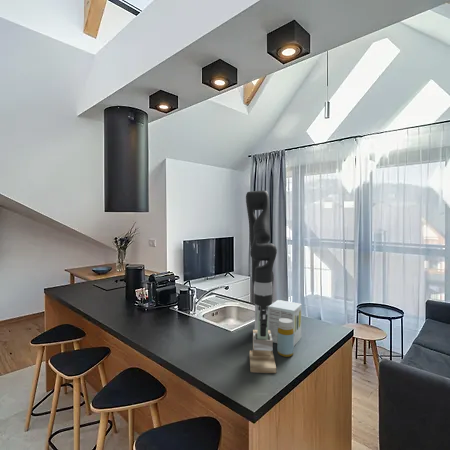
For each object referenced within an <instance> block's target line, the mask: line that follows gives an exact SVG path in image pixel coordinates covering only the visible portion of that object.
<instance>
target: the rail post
mask: <svg viewBox="0 0 450 450" xmlns="http://www.w3.org/2000/svg"><path fill="white" fill-rule="evenodd" d="M260 319H261V316H260ZM262 324H265V323H262ZM257 339H261V340H268V321H267V328H266V336H265V337H263V336H260V321H259V313H258V327H257Z"/></svg>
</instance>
